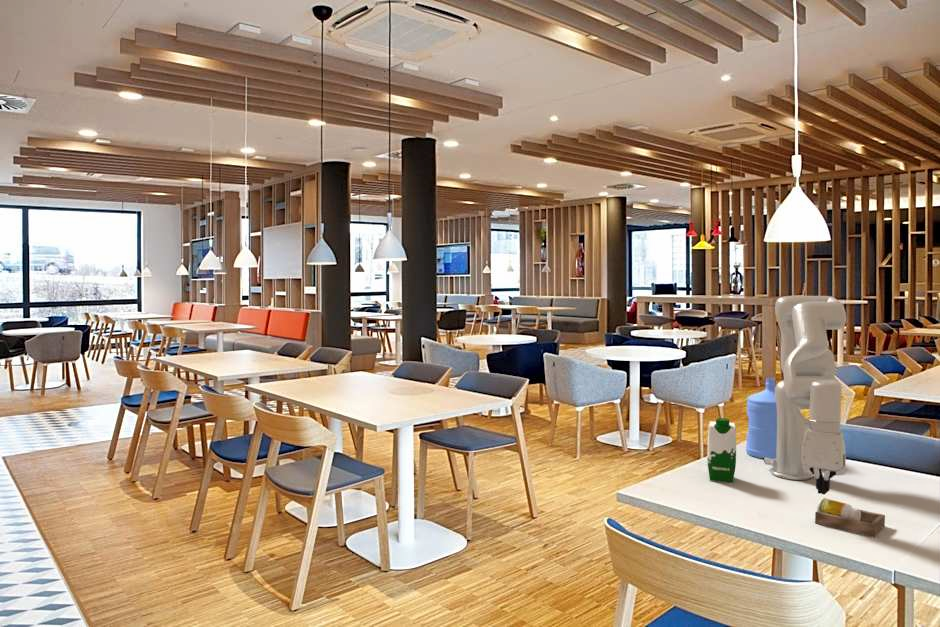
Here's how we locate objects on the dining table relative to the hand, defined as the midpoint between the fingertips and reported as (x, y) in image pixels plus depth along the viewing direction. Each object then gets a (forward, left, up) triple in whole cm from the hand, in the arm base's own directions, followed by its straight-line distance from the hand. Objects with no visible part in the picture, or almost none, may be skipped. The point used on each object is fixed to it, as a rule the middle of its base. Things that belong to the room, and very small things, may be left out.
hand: (822, 492), depth 190 cm
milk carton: (-36, +16, -7) cm, 40 cm away
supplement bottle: (-1, +1, -4) cm, 5 cm away
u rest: (+7, 0, -7) cm, 10 cm away
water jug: (-36, +56, -7) cm, 67 cm away
